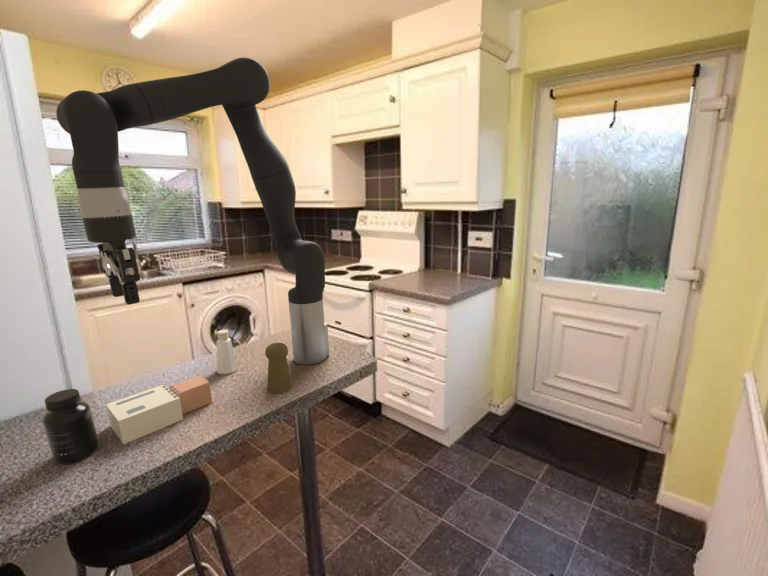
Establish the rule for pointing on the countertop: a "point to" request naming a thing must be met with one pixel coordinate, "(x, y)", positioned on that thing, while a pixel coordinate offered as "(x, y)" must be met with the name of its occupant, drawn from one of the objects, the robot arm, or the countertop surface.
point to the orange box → (192, 393)
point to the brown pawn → (278, 368)
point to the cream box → (144, 413)
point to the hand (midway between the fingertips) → (126, 299)
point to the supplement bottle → (69, 427)
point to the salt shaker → (225, 354)
